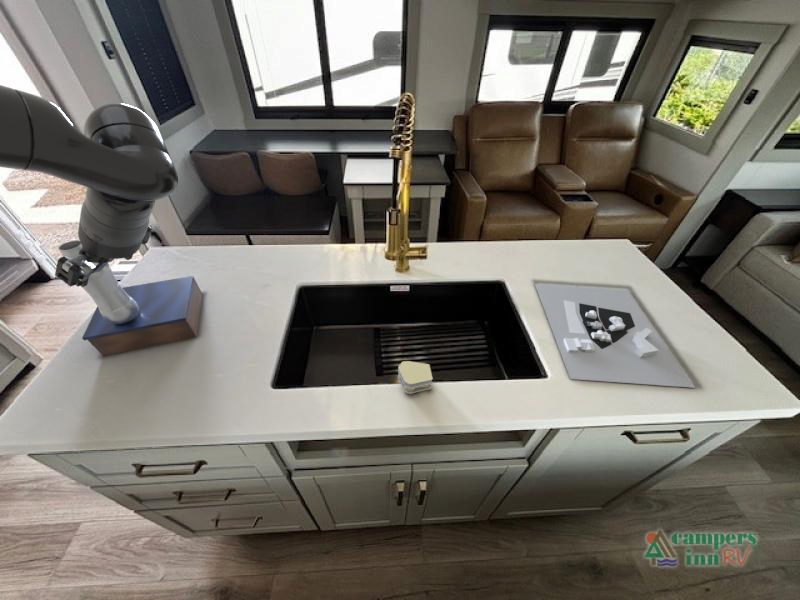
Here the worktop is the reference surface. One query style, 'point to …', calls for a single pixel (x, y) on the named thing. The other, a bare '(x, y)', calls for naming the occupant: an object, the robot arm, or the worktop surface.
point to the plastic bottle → (105, 290)
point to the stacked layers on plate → (414, 376)
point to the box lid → (148, 307)
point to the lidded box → (154, 331)
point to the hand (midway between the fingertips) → (102, 268)
